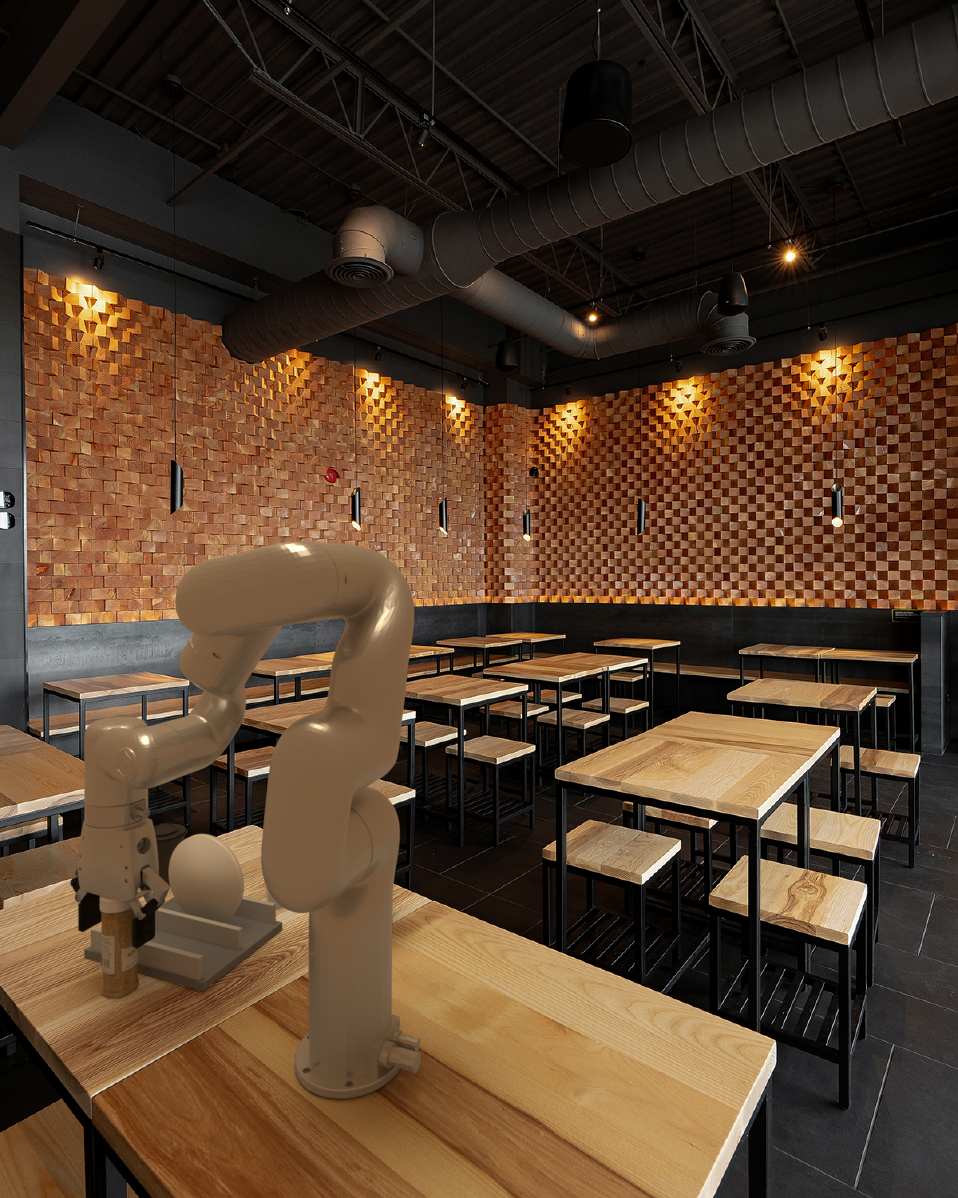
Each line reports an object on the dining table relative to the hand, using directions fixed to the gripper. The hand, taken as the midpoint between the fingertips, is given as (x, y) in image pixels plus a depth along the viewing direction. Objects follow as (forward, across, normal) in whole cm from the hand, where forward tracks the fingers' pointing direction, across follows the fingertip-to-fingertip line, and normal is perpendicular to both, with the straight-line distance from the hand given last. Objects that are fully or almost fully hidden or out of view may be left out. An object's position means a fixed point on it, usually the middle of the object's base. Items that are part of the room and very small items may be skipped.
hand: (116, 934), depth 92 cm
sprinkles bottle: (+7, -1, 0) cm, 8 cm away
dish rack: (+7, -1, -12) cm, 14 cm away
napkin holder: (+8, -4, -31) cm, 32 cm away
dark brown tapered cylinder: (+8, +18, -26) cm, 33 cm away
